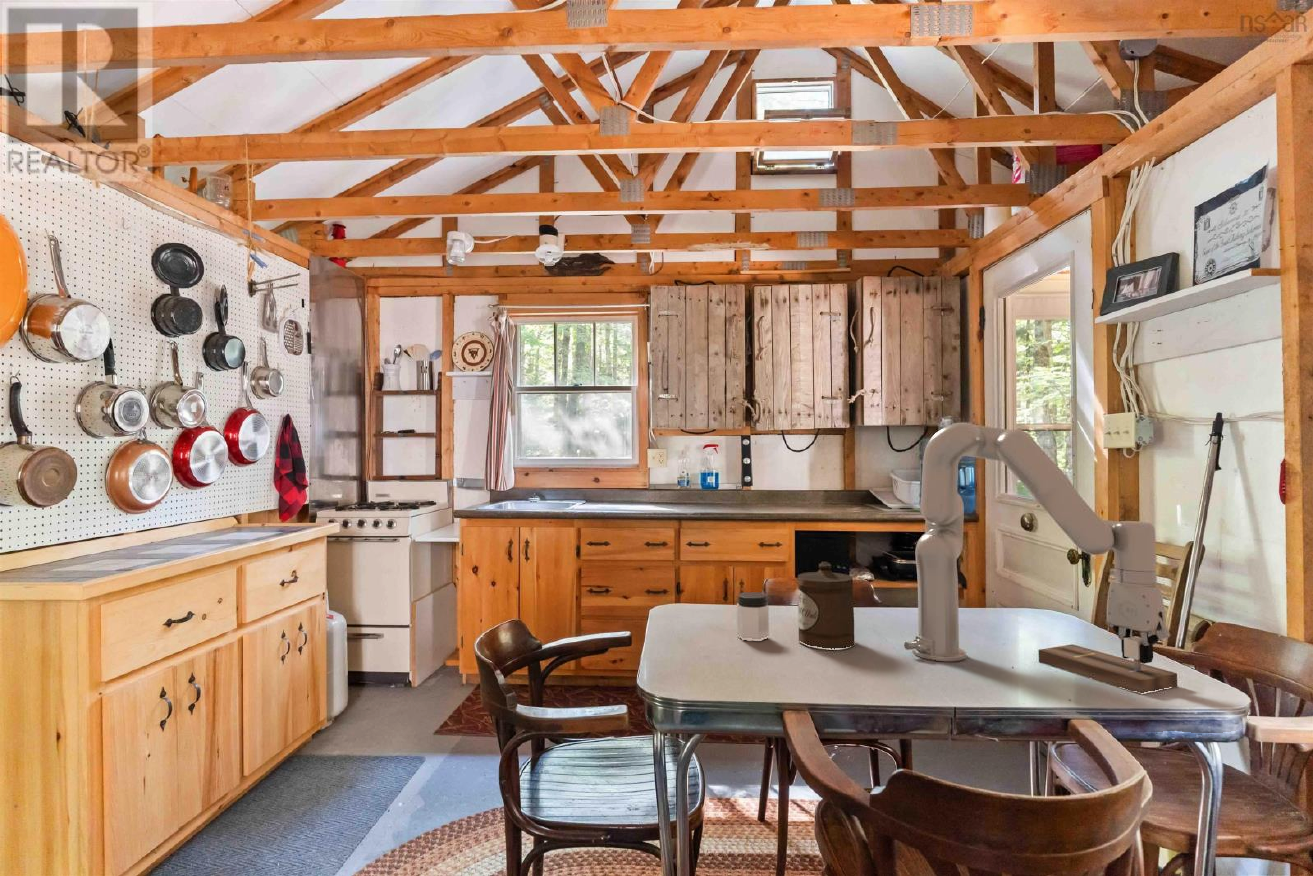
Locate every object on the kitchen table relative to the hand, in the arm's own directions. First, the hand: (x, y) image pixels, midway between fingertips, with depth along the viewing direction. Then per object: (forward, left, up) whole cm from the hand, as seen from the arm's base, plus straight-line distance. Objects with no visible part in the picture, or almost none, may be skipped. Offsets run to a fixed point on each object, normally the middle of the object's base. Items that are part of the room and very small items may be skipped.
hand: (1137, 659), depth 146 cm
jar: (-60, +66, -6) cm, 89 cm away
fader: (0, 0, -2) cm, 2 cm away
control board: (0, +8, -6) cm, 9 cm away
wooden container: (-44, +54, -6) cm, 70 cm away
